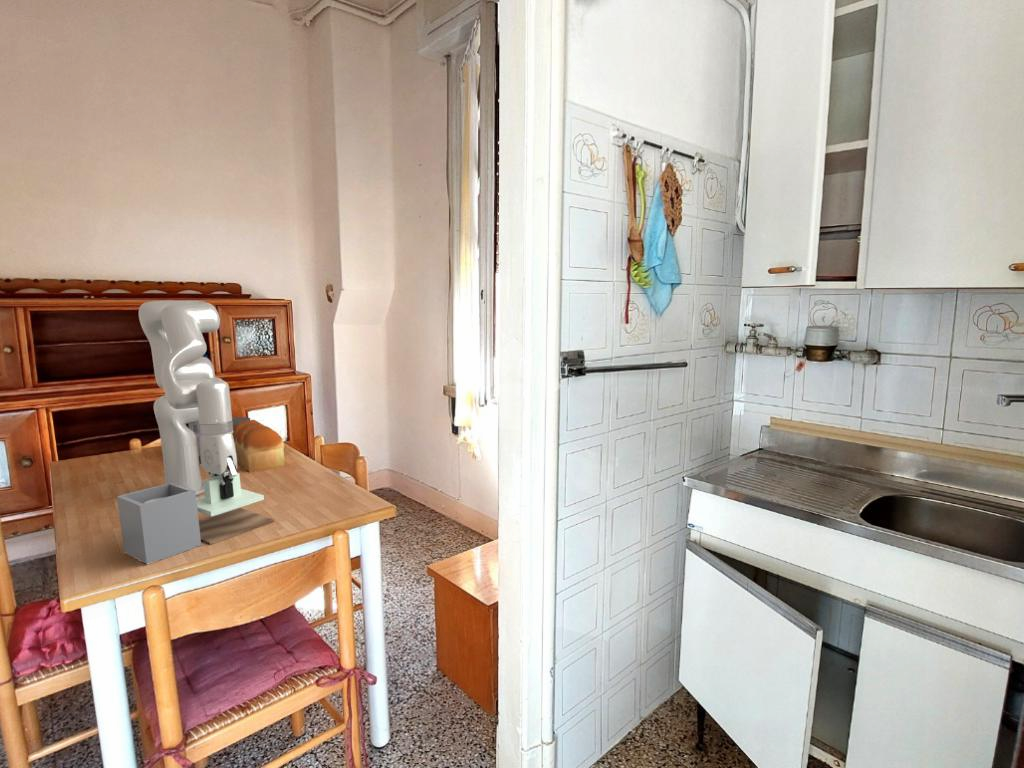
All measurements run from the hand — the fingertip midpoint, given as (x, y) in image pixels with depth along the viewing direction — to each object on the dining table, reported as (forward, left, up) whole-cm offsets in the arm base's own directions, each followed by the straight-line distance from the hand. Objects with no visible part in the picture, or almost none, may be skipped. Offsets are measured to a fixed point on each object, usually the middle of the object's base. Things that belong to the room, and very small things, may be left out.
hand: (223, 496), depth 145 cm
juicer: (-75, +38, -9) cm, 84 cm away
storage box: (+1, -16, -8) cm, 18 cm away
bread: (-50, +40, -9) cm, 65 cm away
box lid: (0, 0, -3) cm, 3 cm away
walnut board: (0, 0, -8) cm, 8 cm away
